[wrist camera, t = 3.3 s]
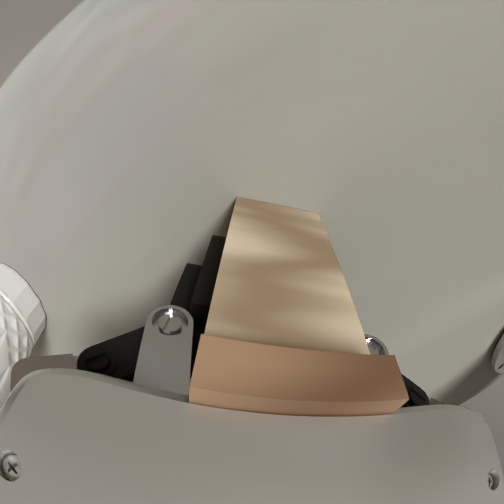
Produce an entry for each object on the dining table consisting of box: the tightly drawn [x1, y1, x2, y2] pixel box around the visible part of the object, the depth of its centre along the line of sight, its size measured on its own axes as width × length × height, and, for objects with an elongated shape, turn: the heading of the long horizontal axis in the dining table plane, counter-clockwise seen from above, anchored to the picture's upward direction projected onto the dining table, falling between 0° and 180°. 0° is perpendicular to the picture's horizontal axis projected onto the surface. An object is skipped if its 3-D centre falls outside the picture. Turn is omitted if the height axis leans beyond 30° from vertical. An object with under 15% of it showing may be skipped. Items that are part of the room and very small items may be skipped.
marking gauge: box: [189, 197, 409, 416], centre depth 9 cm, size 4×6×10 cm, turn 169°
